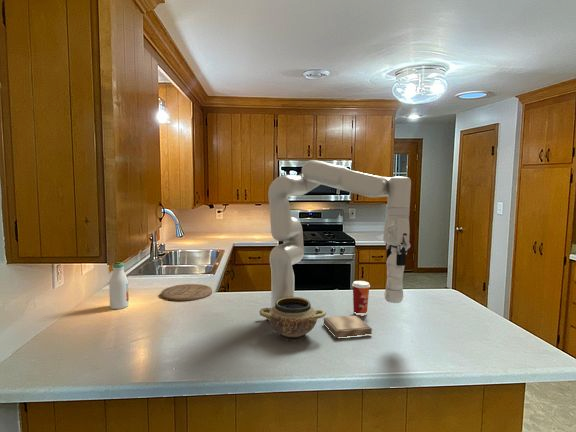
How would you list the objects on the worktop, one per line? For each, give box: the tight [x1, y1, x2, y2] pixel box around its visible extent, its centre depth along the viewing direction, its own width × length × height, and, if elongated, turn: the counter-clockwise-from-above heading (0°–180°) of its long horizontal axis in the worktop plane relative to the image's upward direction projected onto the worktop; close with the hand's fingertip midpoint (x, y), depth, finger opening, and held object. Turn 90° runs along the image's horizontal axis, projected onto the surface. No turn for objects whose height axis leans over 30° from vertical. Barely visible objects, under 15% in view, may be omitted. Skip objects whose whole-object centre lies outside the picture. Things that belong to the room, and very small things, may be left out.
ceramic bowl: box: [259, 296, 327, 341], centre depth 135 cm, size 24×18×15 cm
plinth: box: [323, 314, 373, 338], centre depth 141 cm, size 14×14×3 cm
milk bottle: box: [108, 262, 130, 310], centre depth 164 cm, size 8×8×20 cm
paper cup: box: [351, 280, 371, 313], centre depth 159 cm, size 8×8×14 cm
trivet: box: [160, 283, 213, 302], centre depth 186 cm, size 25×25×2 cm
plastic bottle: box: [384, 246, 406, 304], centre depth 128 cm, size 6×7×20 cm
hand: (395, 262), depth 128 cm, fingers closed on plastic bottle, 6 cm apart
